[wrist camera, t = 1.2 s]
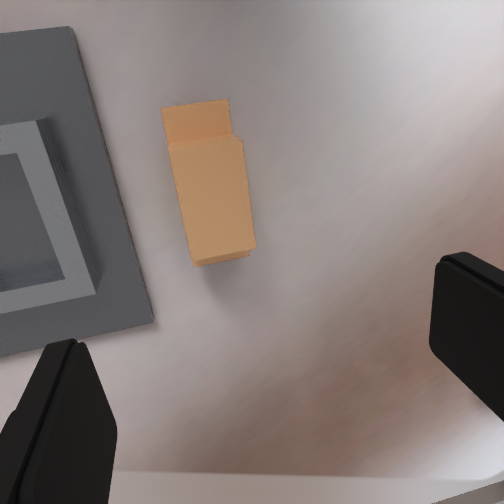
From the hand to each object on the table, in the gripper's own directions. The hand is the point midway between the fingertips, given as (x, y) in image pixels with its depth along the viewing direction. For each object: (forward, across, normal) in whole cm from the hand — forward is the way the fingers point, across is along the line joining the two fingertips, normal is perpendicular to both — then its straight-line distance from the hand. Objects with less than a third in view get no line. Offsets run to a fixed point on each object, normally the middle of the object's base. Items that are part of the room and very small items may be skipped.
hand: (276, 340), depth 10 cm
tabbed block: (+19, 0, 0) cm, 19 cm away
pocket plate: (+19, +13, 0) cm, 23 cm away
